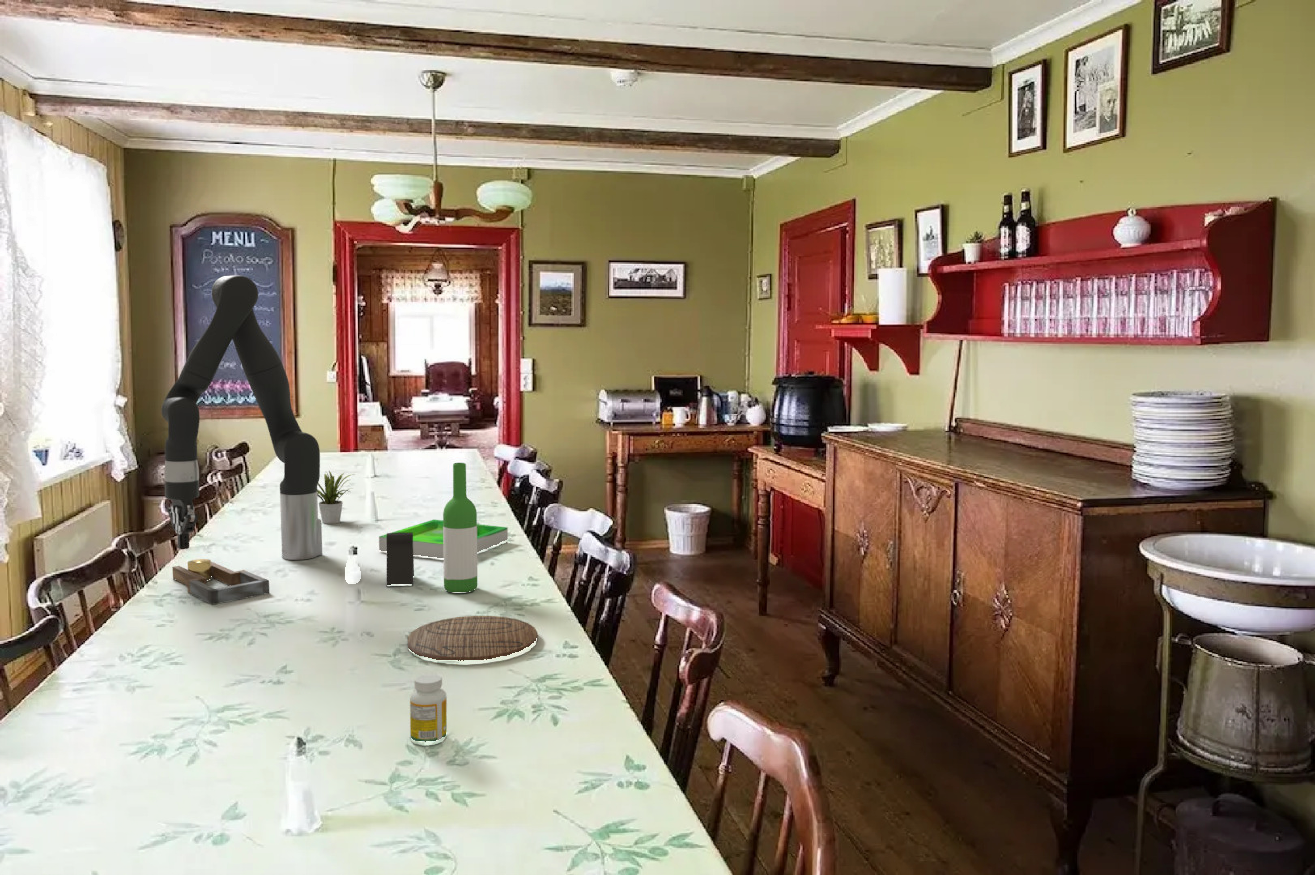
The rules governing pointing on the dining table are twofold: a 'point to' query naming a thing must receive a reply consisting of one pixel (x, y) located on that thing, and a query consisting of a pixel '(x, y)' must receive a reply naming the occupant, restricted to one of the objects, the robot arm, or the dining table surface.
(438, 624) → the trivet
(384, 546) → the tray
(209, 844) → the dining table surface
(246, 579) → the chute
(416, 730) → the supplement bottle
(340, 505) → the house plant
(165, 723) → the dining table surface
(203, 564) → the tan rounded block
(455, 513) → the wine bottle
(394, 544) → the door stopper
